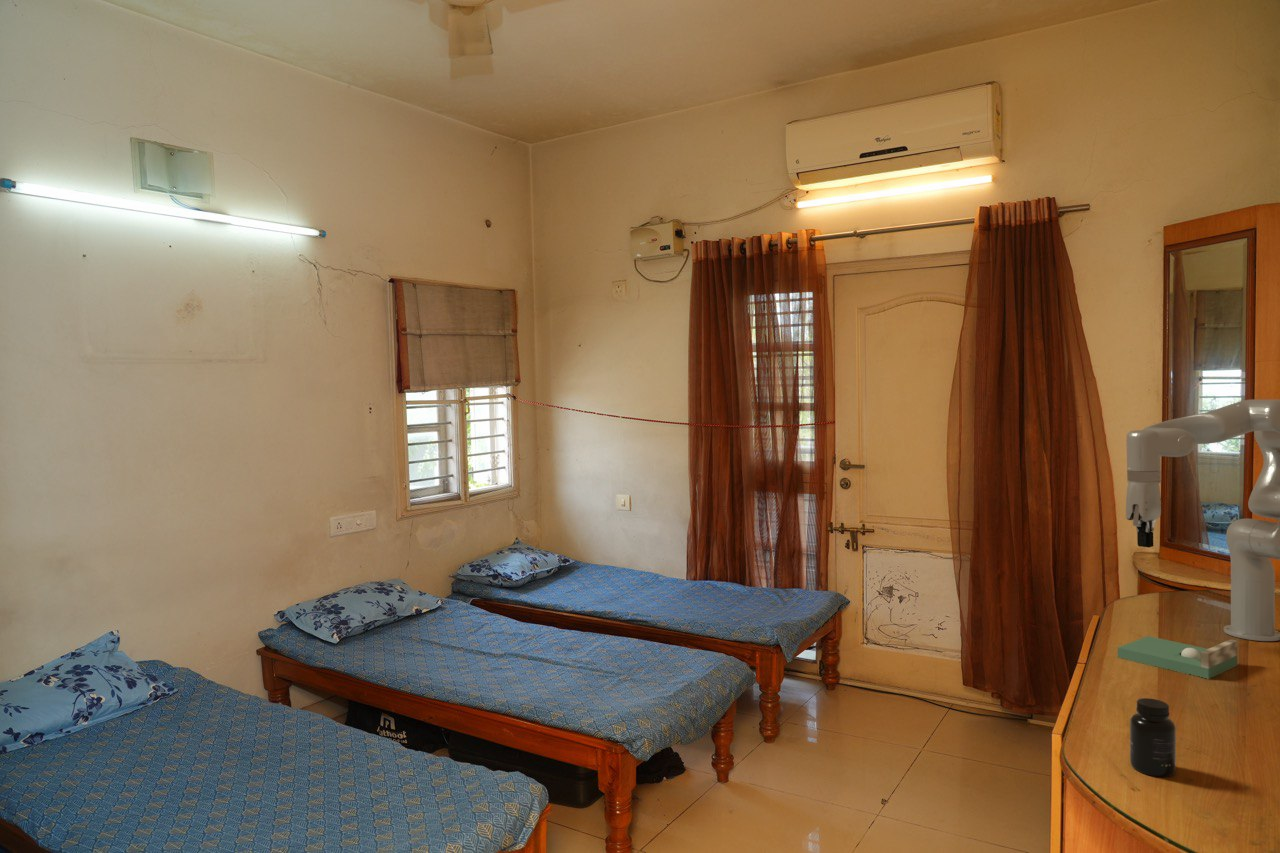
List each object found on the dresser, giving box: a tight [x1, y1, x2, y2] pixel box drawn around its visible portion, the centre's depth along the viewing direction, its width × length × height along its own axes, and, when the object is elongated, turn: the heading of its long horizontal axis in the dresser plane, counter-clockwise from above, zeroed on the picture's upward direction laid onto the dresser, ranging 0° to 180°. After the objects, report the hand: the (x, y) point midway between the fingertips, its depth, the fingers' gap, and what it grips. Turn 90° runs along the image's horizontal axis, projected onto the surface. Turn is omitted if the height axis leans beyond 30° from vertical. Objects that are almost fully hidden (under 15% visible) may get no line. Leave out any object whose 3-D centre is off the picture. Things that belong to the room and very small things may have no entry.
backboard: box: [1201, 639, 1238, 669], centre depth 191 cm, size 16×2×4 cm, turn 124°
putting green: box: [1117, 635, 1238, 680], centre depth 199 cm, size 16×20×2 cm
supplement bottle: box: [1129, 697, 1177, 778], centre depth 142 cm, size 7×7×12 cm
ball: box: [1181, 648, 1201, 660], centre depth 196 cm, size 4×4×4 cm
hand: (1145, 546), depth 212 cm, fingers closed
